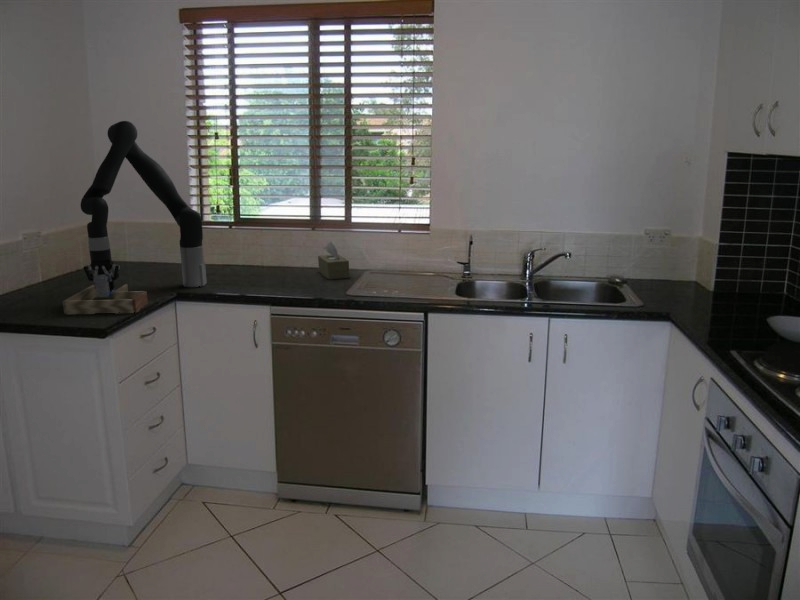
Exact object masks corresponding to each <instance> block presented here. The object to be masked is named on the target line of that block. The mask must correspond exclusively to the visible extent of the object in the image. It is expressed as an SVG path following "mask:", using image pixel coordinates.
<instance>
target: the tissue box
mask: <svg viewBox="0 0 800 600" xmlns="http://www.w3.org/2000/svg"><path fill="white" fill-rule="evenodd" d="M323 249H324V250H325V251H326V252H327V253H328V254H324V255H322V254H321V255H317V256H318V257H317V259H318V273H319V274H321V275H322V276H323V277H324V278H326V279H327V280H339V279H341V280H342V279H349V278H350V264H349V263H350V261H349V260H348V259H346V258H345V257H343V256H341V255H340V254H338V250H337V248H336V246H335V245H334V244H333V242H332V241H329V242H328V243H327V244H326V246H325V247H323Z"/></svg>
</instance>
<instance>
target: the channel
mask: <svg viewBox="0 0 800 600" xmlns="http://www.w3.org/2000/svg"><path fill="white" fill-rule="evenodd" d="M147 292H148V291H145V290H139V291H138V290H137V291H136V290H134V291H133V290H132V291H129V288H128V284H127V283H125V284H123V285H122V286H120V287H119V288H117V289H114V291H113V292H112V294H111V295H112V296H111V297H112V299H95V298H97V295H96V290H95V285H94V284H91V285H90V286H88V287H86V288H84V289H82V290H81V291H79V292H77V293H75V294H73V295H71V296H70V297H68V298H65V299H64V300H63V301H62V306H63V307H62V308H63V315H64V314H66V315H96V314H95V313H115V314H135V313H138V312H140V311H141V310H142V309H143V308H145V307H146V306H147V305H148V304H149V303H148V302H149V301H148V293H147ZM146 304H147V305H146ZM145 305H146V306H145ZM144 306H145V307H144ZM141 308H142V309H141ZM140 309H141V310H140ZM119 312H120V313H119ZM134 312H135V313H134Z"/></svg>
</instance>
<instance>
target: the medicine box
mask: <svg viewBox="0 0 800 600" xmlns="http://www.w3.org/2000/svg"><path fill="white" fill-rule="evenodd" d="M93 277H94V281H95V288H96V298H109V297H110V296H111V295H112V292H113V291H115V289H114V290H113V291H110V288H109V282H110V281H109V280H108V276H107V275H105V274H98V275H96V276H94V275H93Z"/></svg>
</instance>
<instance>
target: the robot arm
mask: <svg viewBox="0 0 800 600" xmlns="http://www.w3.org/2000/svg"><path fill="white" fill-rule="evenodd" d="M107 137H108V139H109V142H110V143H111V145H110V149H109V151H107V154H106V156H105V157H104V159H103V160H102V162H101V164H100V165H99V167H98V168H97V172H96V174H95V176H94V178H93V181H92V184H91V185H90V186H89V187H88V188H87V190H86V192H85V193H84V195H83V197H82V198H81V201H80V210H81V211H82V212H83V214H85V215H88V216H91V221H89V222H87V224H86V230H87V238H88V241H87V242H88V250H89V258H90V264H88V265H85V266H83V271H84V273H85V275H86V277H87V279H88V281H89V282H90V281H91V282H93V283H94V284H93V285H95V281H94V276H96V275H98V274H105V275H107V276H108V280H109V281H110V282H109V288H110V291H113V290H114V291H115V289H116V286H115V285H116V284H115V281H116V280H119V277H120V272H121V267H122V266H121V264H115V263H113V261H112V252H111V244H110V239H109V235H108V234H109V233H108V227H107V225H108V220H109V219H108V218H109V205H108V203H107V201H106V200H105V199H104V197H105V196H107V195H109V194H110V193H111V191H112V190H113V187H114V184H115V181H116V179H117V177H118V174H119V173H120V172H119V171H120V170H121V167H122V165H123V162H124V160H127V161H128V162H129V164H130V165H131V166H132V168H133V169H134V171H135V172H136V173H137V174H138V175H139V176H140V178H141V179H142V181H143V182H144V183H145V185H146V186H147V187H148V188H149V189H150V191H151V192H152V193H153V194H154V195H155V196H156V198H158V200H159V201H161V203H163V205H164V207H166V208H167V210H168V212H169V213H170V214H171V216H172V217H173V219H174V220H175V222H176V224H177V225H178V226H179V232H180V233H179V234H180V239H179V252H180V263H181V273H182V283H183V287H184V288H198V287H199V286H200V287H205V285H207V283H208V282H207V281H208V280H207V271H206V269H207V268H206V262H205V260H204V251H203V239H204V234H203V232H204V231H203V220H202V216H201V214H200V213H199V211H197V210H194V209H192V207H190V206H189V205H188V204H187V202H186V201H185V200H184V199H183V198H182V196H181V195H180V194H179V192H178V189H177V188H176V186H175V184H174V183H173V182H174V181H172V179H171V177H170V176H169V175H168V174H167V172H166V171H165V169H164V168H163V167H162V166H161V165H160V163H158V162H157V161H156V160H154V159H153V158H152V157H151V156H150V155H148V154H147V153H146V152H144V151H143V150H142V148H140V147H139V145H138V143H137V142H136V140H137V138H138V129H137V127H136V126H135V124H133V123H132V122H130V121H128V120H121V121H118V122H116V123H114V124H112V125H110V126H109V128H108V130H107ZM92 270H93V271H94V273H93V272H92ZM112 270H114V272H112ZM95 290H96V288H95Z"/></svg>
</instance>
